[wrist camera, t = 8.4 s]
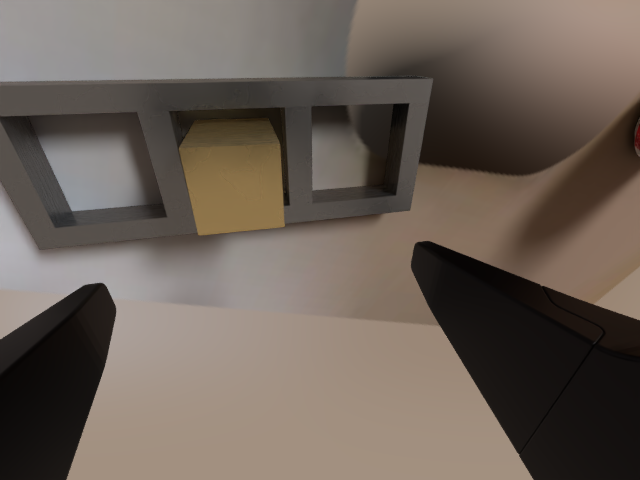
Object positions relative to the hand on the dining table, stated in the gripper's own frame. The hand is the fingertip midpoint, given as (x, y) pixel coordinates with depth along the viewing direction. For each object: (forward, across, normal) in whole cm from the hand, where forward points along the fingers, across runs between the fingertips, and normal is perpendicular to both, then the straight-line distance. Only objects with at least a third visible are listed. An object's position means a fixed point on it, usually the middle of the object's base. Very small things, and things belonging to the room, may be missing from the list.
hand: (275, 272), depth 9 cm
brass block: (+12, +1, 0) cm, 12 cm away
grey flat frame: (+12, +1, 0) cm, 12 cm away
